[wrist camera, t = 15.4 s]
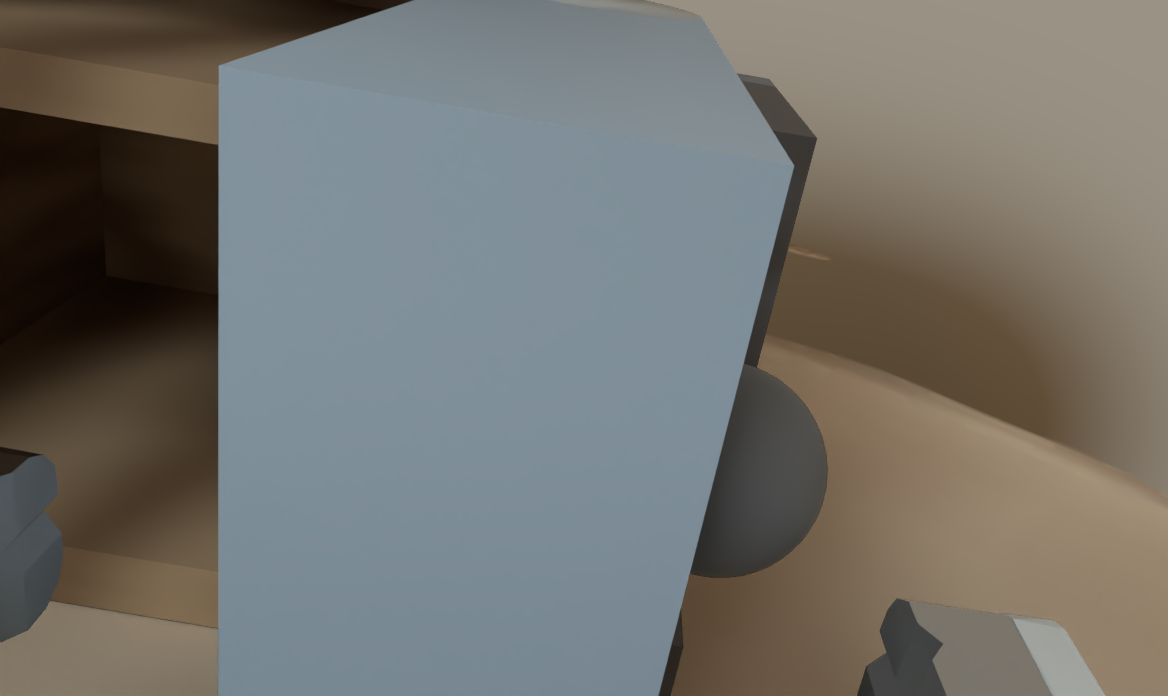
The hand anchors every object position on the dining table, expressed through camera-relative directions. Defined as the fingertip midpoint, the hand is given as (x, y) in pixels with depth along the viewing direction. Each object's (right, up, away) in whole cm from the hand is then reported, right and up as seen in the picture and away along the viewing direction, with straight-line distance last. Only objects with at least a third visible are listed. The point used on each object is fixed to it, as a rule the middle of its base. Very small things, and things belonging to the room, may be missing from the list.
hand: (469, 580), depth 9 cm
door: (-1, -7, +6) cm, 9 cm away
